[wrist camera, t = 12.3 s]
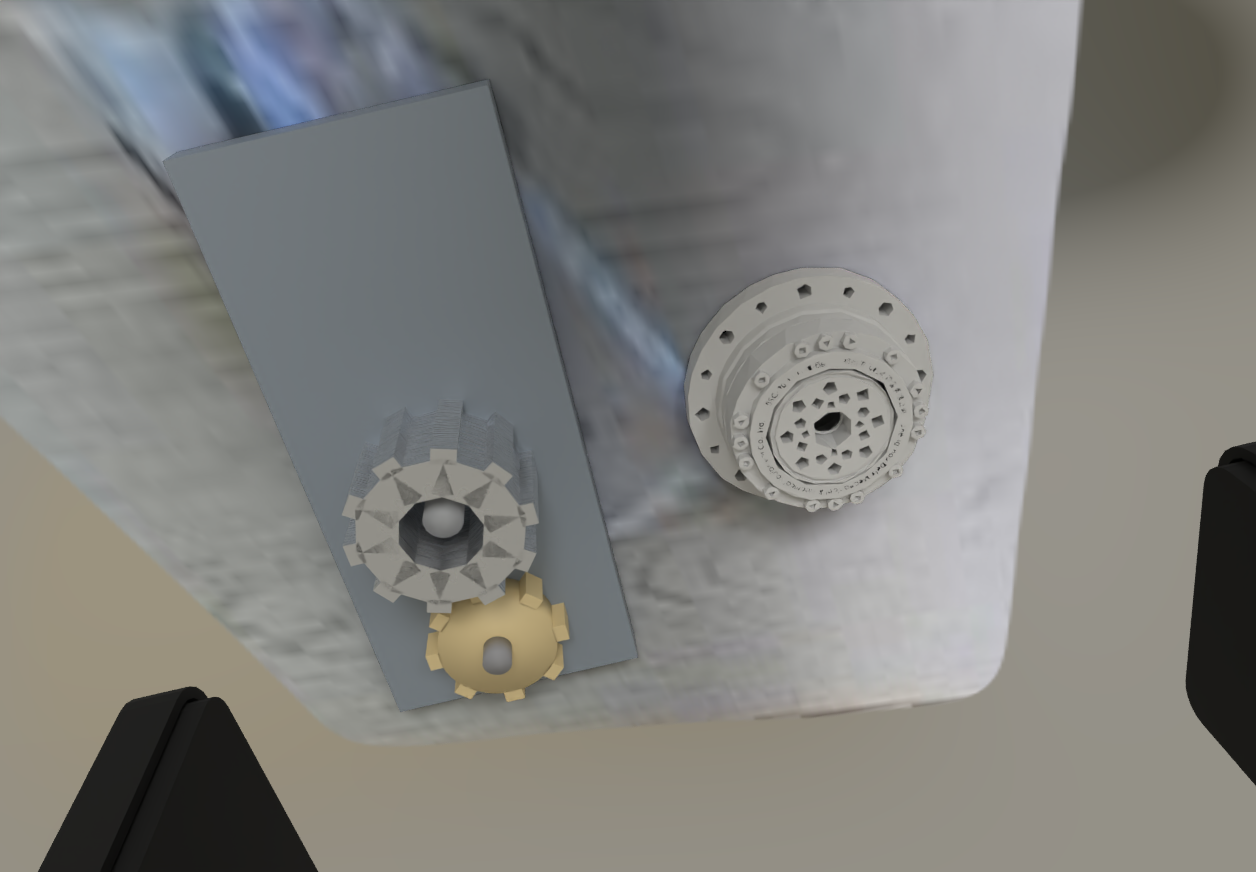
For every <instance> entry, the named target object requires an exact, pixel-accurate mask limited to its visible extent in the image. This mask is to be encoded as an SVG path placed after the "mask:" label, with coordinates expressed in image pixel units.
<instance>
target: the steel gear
mask: <svg viewBox="0 0 1256 872" xmlns="http://www.w3.org/2000/svg"><path fill="white" fill-rule="evenodd" d="M513 428H514V425H513V424H512V423H510V422H509V421H508V420H506V419H505V418H503V417H502V416H501V415H499V414H498V413H497V412H494V414H493V415H492V416H491V417H490V418H489V419H488V420H485V419H482V418H479V417H476V416H473V415H470V414H467V413H464V412H463V400H450V399H439V401H438V407H437V411H434V412H430V413H426V414H421V415H417V416H412V414H411V413H410V412H409V411H408V409H407V408H406V407H404V408H402V409H400V410H399V411H397V412H395V413H394V414H392V415H390V416H388V417H387V418H386V419H385V423H384V426H383V430H382V434H381V437H380V441H379V445H375V444H372V443H369V442H366V441H365V444H364V447H363V449H362V452H361V455H360V458H359V460H358V463H357V467H356V470H355V473H354V477H353V480H352V483H351V486H350V490H349V493H348V496H347V499H346V503H345V506H344V509H343V513H342V516H346V517H349V518H351V519H350V522H349V526H348V529H347V532H346V536H345V539H344V543H343V549H344V551H345V553H346V556H347V558H348V561H349V563H350V565H351V566H355V565H359V564H363V563H364V564H365V565H366V566H367V567H368V568H369V569H370V570H371V572H372V573H373V574H374V575H375V576H376V579H375V584H374V588H373V591H374V592H376V593H377V594H379V595H381V596H382V597H384V598H386V599H387V600H389V601H391V602H392V603H394V601H395V600H396V599H397V598H398V597H399V596H400V595H405V596H408V597H412V598H415V599H418V600H422V601H425V602H427V613H451V610H452V602H457V601H461V600H466V599H470V598H474V597H478V598H479V599H480V600H481V601H482V603H483V604H484V605H487V604H489V603H491V602H492V601H494V600H496V599H498V598H500V597H502V596H504V595H505V579H506V577H507V576H508V575H509V574H510V573H511V572H512V571H513V570H514V569H519V570H522V571H525V572H528V570H529V568H530V566H531V564H532V562H533V560H534V558H535V556H536V553H537V551H536V524H538V523H539V508H538V478H537V467H536V463H535V460H534V456H533V453H532V450H529V451H525V452H520V453H519V451H518V450H517V449H516V447H515V446H514V445H513ZM441 497H443V498H447V499H450V500H453V501H456V502H459V503H462V504H465V505H468V506H469V507H470V508H468V509H465V512H464V523H463V526H462V528H461V530H460V531H459V532H458V533H457V534H455V535H454V536H451V537H447V538H440V537H436V536H433V535H431V534H430V533H429V532H427V530H426V529H425V528H424V526H423V522H422V518H423V512H424V505H423V504H422V503H421V502H423V501H428V500H432V499H436V498H441Z"/></svg>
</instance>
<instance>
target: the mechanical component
mask: <svg viewBox="0 0 1256 872" xmlns="http://www.w3.org/2000/svg"><path fill="white" fill-rule="evenodd" d="M803 285H804V287H802V288H800V287H801V286H803ZM798 288H800V289H798ZM723 331H726V333H725V334H722V333H723ZM932 379H933V370H932V364H931V358H930V352H929V346H928V340H927V338H926V336H925V334H924V333H923V331H922V329H921V328H920V326H919V324H918V322H917V321H916V319H915V317H914V315H913V314H912V313H911V312H910V311H909V310H908V309H907V308H906V306H905V305H904V304H903V303H902V302H901V301H900V300H899V299H898V298H896V297H895V296H894V295H892V294H891V293H890V292H889V291H887V290H886V289H885V288H883V287H882V286H881V285H879V284H878V283H877V282H875V281H874V280H872V279H870V278H867V277H864V276H861V275H859V274H856V273H853V272H851V271H848V270H845V269H842V268H799V269H795V270H791V271H787V272H783V273H779V274H774V275H772V276H770V277H768V278H765V279H763V280H761V281H759V282H757V283H755V284H752V285H750V286H749V287H747V288H746V289H745V290H743V291H742V292H741V293H739V294H738V295H737V296H735V297H734V298H733V299H731V300H730V301H729V302H727V303H726V304H725V305H723V306H722V308H721V309H720V310H719V311H718V313H717V314H716V315H715V316H714V318H713V319H712V320H711V321H710V322H709V324H708V325H707V326H706V328H705V329H704V330H703V332H702V333H701V334H700V336H699V338H698V340H697V342H696V345H695V347H694V349H693V351H692V353H691V355H690V359H689V364H688V368H687V373H686V377H685V382H684V393H685V403H686V414H687V420H688V422H689V425H690V428H691V430H692V432H693V435H694V437H695V439H696V442H697V444H698V446H699V449H700V451H701V454H702V455H703V456H704V458H705V459H706V460H707V461H708V462H709V463H710V465H711V466H712V467H713V468H714V469H715V471H716V472H717V473H718V474H719V475H720V476H721V478H722V479H724V480H726V481H727V482H729V483H731V484H733V485H734V486H736V487H738V488H739V489H741V490H743V491H746V492H749V493H751V494H754V495H757V496H760V497H763V498H766V499H769V500H776V501H778V502H781V503H785V504H789V505H793V506H797V507H801V508H806V509H807V511H809V512H815V511H816V510H818V509H819V508H827V507H828V508H829V509H831V510H832V511H835V510H839V509H840V508H841V507H842V504H845V503H850V502H852V503H853V504H859V503H862V501H863V500H864V498H865V496H866V495H868V494H869V493H871V492H873V491H874V490H876V489H878V488H879V487H881V486H882V485H884V484H885V483H886V482H887V481H889V480H890V479H891V478H896V477H899V476H901V474H902V473H903V468H902V466H903V465H904V463H905V462H906V461H907V460H908V458H909V457H910V456H911V455H912V453H913V451H914V449H915V446H916V443H917V440H918V439H920V438H922V437H924V435H925V433H926V430H925V428H924V427H923V424H924V422H925V419H926V418H925V416H926V415H927V414H928V410H929V408H928V402H929V396H930V391H931V385H932ZM827 413H829V414H828V415H826V414H827ZM824 415H826V416H824ZM823 416H824V417H823Z"/></svg>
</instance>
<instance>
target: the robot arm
mask: <svg viewBox="0 0 1256 872" xmlns="http://www.w3.org/2000/svg"><path fill="white" fill-rule="evenodd" d="M1186 691H1187V695H1188V698H1189V701H1190V704H1191V706H1192V708H1193V710H1194V712H1195V714H1196V716H1197V717H1198V718H1199V720H1200V721H1201V723H1202V724H1203V725H1204V726H1205V727H1206V728H1207V730H1208V731H1209V732H1210V733H1211V734H1212V735H1213V737H1214V738H1215V739H1216V740H1217V741H1218V742H1219V744H1220V745H1221V746H1222V747H1223V748H1224V749H1225V750H1226V751H1227V753H1228V754H1229V755H1230V756H1231V757H1232V759H1233V760H1234V761H1235V762H1236V763H1237V764H1238V765H1239V767H1240V768H1241V769H1242V770H1243V771H1244V773H1245V774H1246V775H1247V776H1248V777H1249V778H1250V779H1251V781H1252V782H1253V783H1254V784H1255V785H1256V442H1252V443H1248V444H1243V445H1239V446H1235V447H1232V448H1230V449H1228V450H1226V451H1225V452H1224V453H1223V455H1222V456H1221V458H1220V460H1219V465H1218V467H1215V468H1213V469H1210V470H1209V472H1208V473H1207V475H1206V477H1205V481H1204V489H1203V499H1202V510H1201V521H1200V531H1199V542H1198V553H1197V564H1196V574H1195V585H1194V596H1193V607H1192V618H1191V628H1190V639H1189V650H1188V662H1187V671H1186ZM38 872H318V871H317V869H316V867H315V865H314V863H313V861H312V860H311V858H310V857H309V854H308V852H307V851H306V849H305V847H304V845H303V843H302V841H301V840H300V838H299V836H298V834H297V832H296V830H295V829H294V827H293V825H292V823H291V821H290V819H289V817H288V816H287V814H286V812H285V810H284V808H283V806H282V805H281V803H280V801H279V799H278V797H277V795H276V794H275V792H274V790H273V788H272V786H271V784H270V783H269V781H268V779H267V777H266V775H265V773H264V771H263V770H262V768H261V766H260V764H259V762H258V761H257V759H256V757H255V755H254V753H253V751H252V749H251V748H250V746H249V744H248V742H247V740H246V738H245V737H244V735H243V733H242V731H241V729H240V727H239V726H238V724H237V722H236V720H235V719H234V717H233V715H232V713H231V711H230V709H229V707H228V706H227V705H226V703H225V702H224V701H223V700H222V699H221V698H219V697H212V698H207V696H206V695H205V694H204V692H203V691H201V690H200V689H198V688H197V687H185V688H181V689H177V690H172V691H168V692H163V693H159V694H155V695H151V696H146V697H142V698H137V699H133V700H131V701H130V702H128V703H126V704H125V706H124V707H123V708H122V710H121V711H120V713H119V715H118V717H117V719H116V721H115V723H114V725H113V726H112V728H111V731H110V732H109V734H108V736H107V738H106V740H105V742H104V744H103V746H102V748H101V750H100V752H99V754H98V756H97V758H96V760H95V761H94V763H93V766H92V767H91V769H90V771H89V773H88V775H87V777H86V779H85V781H84V783H83V785H82V787H81V789H80V791H79V793H78V795H77V797H76V799H75V800H74V802H73V804H72V806H71V808H70V810H69V812H68V814H67V816H66V818H65V820H64V822H63V824H62V826H61V828H60V830H59V832H58V834H57V836H56V838H55V839H54V841H53V843H52V845H51V847H50V849H49V851H48V853H47V855H46V857H45V859H44V861H43V863H42V865H41V867H40V869H39V871H38Z"/></svg>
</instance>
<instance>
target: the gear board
mask: <svg viewBox="0 0 1256 872" xmlns="http://www.w3.org/2000/svg"><path fill="white" fill-rule="evenodd" d="M163 163H164V165H165V168H166V170H167V172H168V175H169V177H170V179H171V182H172V184H173V186H174V189H175V191H176V193H177V196H178V198H179V200H180V203H181V205H182V207H183V210H184V212H185V214H186V216H187V219H188V221H189V223H190V226H191V228H192V230H193V233H194V235H195V237H196V240H197V242H198V244H199V247H200V249H201V251H202V254H203V256H204V258H205V261H206V263H207V265H208V267H209V270H210V272H211V274H212V277H213V279H214V281H215V284H216V286H217V288H218V291H219V293H220V295H221V298H222V300H223V302H224V305H225V307H226V309H227V312H228V314H229V316H230V318H231V321H232V323H233V325H234V328H235V330H236V332H237V335H238V337H239V339H240V342H241V344H242V346H243V349H244V351H245V353H246V356H247V358H248V360H249V363H250V365H251V367H252V369H253V372H254V374H255V376H256V379H257V381H258V383H259V386H260V388H261V390H262V393H263V395H264V397H265V400H266V402H267V404H268V407H269V409H270V411H271V414H272V416H273V418H274V420H275V423H276V425H277V427H278V430H279V432H280V434H281V437H282V439H283V441H284V444H285V446H286V448H287V451H288V453H289V455H290V458H291V460H292V462H293V465H294V467H295V469H296V471H297V474H298V476H299V478H300V481H301V483H302V485H303V488H304V490H305V492H306V495H307V497H308V499H309V502H310V504H311V506H312V509H313V511H314V513H315V516H316V518H317V520H318V522H319V525H320V527H321V529H322V532H323V534H324V536H325V539H326V541H327V543H328V546H329V548H330V550H331V553H332V555H333V557H334V560H335V562H336V564H337V567H338V569H339V571H340V573H341V576H342V578H343V580H344V583H345V585H346V587H347V590H348V592H349V594H350V597H351V599H352V601H353V604H354V606H355V608H356V611H357V613H358V615H359V618H360V620H361V622H362V624H363V627H364V629H365V631H366V634H367V636H368V638H369V641H370V643H371V645H372V648H373V650H374V652H375V655H376V657H377V659H378V662H379V664H380V666H381V669H382V671H383V673H384V675H385V678H386V680H387V682H388V685H389V687H390V689H391V692H392V694H393V696H394V699H395V701H396V703H397V706H398V708H399V710H400V712H402V711H407V710H411V709H416V708H420V707H424V706H429V705H433V704H437V703H442V702H446V701H450V700H455V699H459V698H464V697H466V698H469V699H472V697H473V696H474V695H477V694H481V693H504V695H505V697H506V700H507V702H510V701H514V700H518V699H523V698H525V687H528V686H530V685H531V684H533V683H535V682H536V681H538V680H542V679H547V678H550V679H552V680H555V679H556V677H557V676H560V675H564V674H568V673H573V672H577V671H581V670H586V669H590V668H595V667H599V666H603V665H608V664H612V663H616V662H621V661H625V660H630V659H634V658H638V654H637V648H636V642H635V636H634V632H633V628H632V624H631V620H630V617H629V613H628V609H627V605H626V601H625V597H624V594H623V590H622V586H621V582H620V578H619V574H618V571H617V567H616V563H615V559H614V555H613V551H612V548H611V544H610V540H609V536H608V532H607V528H606V525H605V521H604V517H603V513H602V509H601V506H600V502H599V498H598V494H597V490H596V486H595V483H594V479H593V475H592V471H591V467H590V463H589V460H588V456H587V452H586V448H585V444H584V440H583V437H582V433H581V429H580V425H579V421H578V417H577V414H576V410H575V406H574V402H573V398H572V394H571V391H570V387H569V383H568V379H567V375H566V371H565V368H564V364H563V360H562V356H561V352H560V348H559V345H558V341H557V337H556V333H555V329H554V325H553V322H552V318H551V314H550V310H549V306H548V303H547V299H546V295H545V291H544V287H543V283H542V280H541V276H540V272H539V268H538V264H537V260H536V257H535V253H534V249H533V245H532V241H531V237H530V234H529V230H528V226H527V222H526V218H525V214H524V211H523V207H522V203H521V199H520V195H519V191H518V188H517V184H516V180H515V176H514V172H513V168H512V165H511V161H510V157H509V153H508V149H507V145H506V142H505V138H504V134H503V130H502V126H501V123H500V119H499V115H498V111H497V107H496V103H495V100H494V96H493V92H492V88H491V84H490V80H489V79H487V80H483V81H479V82H474V83H470V84H466V85H462V86H457V87H453V88H449V89H445V90H440V91H436V92H432V93H427V94H423V95H419V96H415V97H410V98H406V99H402V100H398V101H393V102H389V103H385V104H380V105H376V106H372V107H368V108H363V109H359V110H355V111H351V112H346V113H342V114H338V115H333V116H329V117H325V118H321V119H316V120H312V121H308V122H304V123H299V124H295V125H291V126H287V127H282V128H278V129H274V130H269V131H265V132H261V133H257V134H252V135H248V136H244V137H240V138H235V139H231V140H227V141H222V142H218V143H214V144H210V145H205V146H201V147H197V148H193V149H188V150H184V151H180V152H176V153H175V154H173V155H172V156H170V157H169V158H167V159H165V160H164V161H163ZM439 399H450V400H463V412H464V413H467V414H470V415H473V416H476V417H479V418H482V419H485V420H488V419H489V418H490V417H491V416H492V415H493V414H494V412H497V413H498V414H499V415H501V416H502V417H503V418H505V419H506V420H508V421H509V422H510V423H512V424H513V425H514V428H513V445H514V446H515V447H516V449H517V450H518V451H519V453H520V452H525V451H529V450H532V453H533V456H534V460H535V463H536V467H537V478H538V508H539V523H538V524H536V551H537V553H536V556H535V558H534V560H533V562H532V564H531V566H530V568H529V570H528V572H525V571H522V570H519V569H514V570H513V571H512V572H511V573H510V574H509V575H508V576H507V577H506V579H505V595H504V596H502V597H500V598H498V599H496V600H494V601H492V602H491V603H489V604H487V605H484V604H483V603H482V601H481V600H480V599H479V598H478V597H474V598H470V599H466V600H461V601H457V602H452V610H451V613H427V602H425V601H422V600H418V599H415V598H412V597H408V596H405V595H400V596H399V597H398V598H397V599H396V600H395V601H394V603H392V602H391V601H389V600H387V599H386V598H384V597H382V596H381V595H379V594H377V593H376V592H374V591H373V588H374V584H375V579H376V576H375V575H374V574H373V573H372V572H371V570H370V569H369V568H368V567H367V566H366V565H365V564H364V563H363V564H359V565H355V566H351V565H350V563H349V561H348V558H347V556H346V553H345V551H344V549H343V543H344V539H345V536H346V532H347V529H348V526H349V522H350V519H351V518H349V517H346V516H342V513H343V509H344V506H345V503H346V499H347V496H348V493H349V490H350V486H351V483H352V480H353V477H354V473H355V470H356V467H357V463H358V460H359V458H360V455H361V452H362V449H363V447H364V444H365V441H366V442H369V443H372V444H375V445H379V441H380V437H381V434H382V430H383V426H384V423H385V419H386V418H387V417H388V416H390V415H392V414H394V413H395V412H397V411H399V410H400V409H402V408H404V407H406V408H407V409H408V411H409V412H410V413H411V414H412V416H417V415H421V414H426V413H430V412H434V411H437V407H438V401H439ZM421 503H422V504H423V505H424V512H423V518H422V522H423V526H424V528H425V529H426V530H427V532H429V533H430V534H431V535H433V536H436V537H440V538H447V537H451V536H454V535H455V534H457V533H458V532H459V531H460V530H461V528H462V526H463V523H464V512H465V509H468V508H470V507H469V506H468V505H465V504H462V503H459V502H456V501H453V500H450V499H447V498H443V497H441V498H436V499H432V500H428V501H423V502H421Z"/></svg>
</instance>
